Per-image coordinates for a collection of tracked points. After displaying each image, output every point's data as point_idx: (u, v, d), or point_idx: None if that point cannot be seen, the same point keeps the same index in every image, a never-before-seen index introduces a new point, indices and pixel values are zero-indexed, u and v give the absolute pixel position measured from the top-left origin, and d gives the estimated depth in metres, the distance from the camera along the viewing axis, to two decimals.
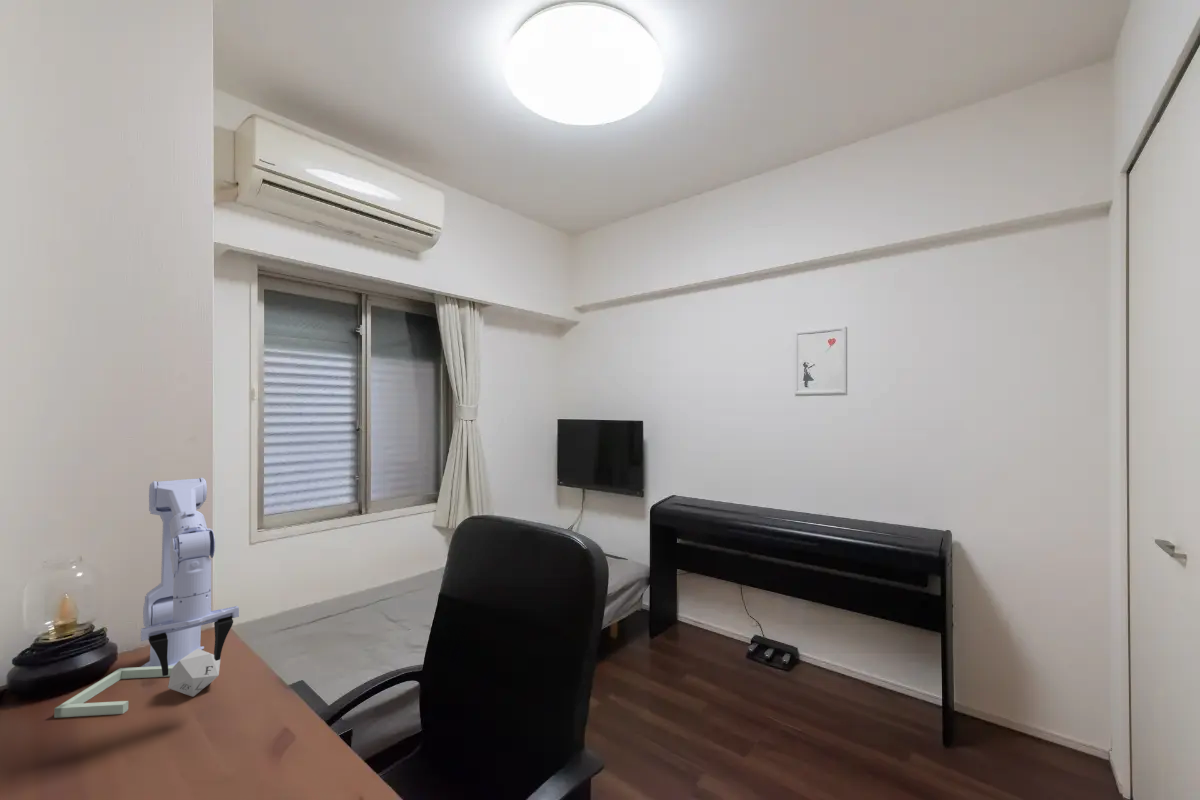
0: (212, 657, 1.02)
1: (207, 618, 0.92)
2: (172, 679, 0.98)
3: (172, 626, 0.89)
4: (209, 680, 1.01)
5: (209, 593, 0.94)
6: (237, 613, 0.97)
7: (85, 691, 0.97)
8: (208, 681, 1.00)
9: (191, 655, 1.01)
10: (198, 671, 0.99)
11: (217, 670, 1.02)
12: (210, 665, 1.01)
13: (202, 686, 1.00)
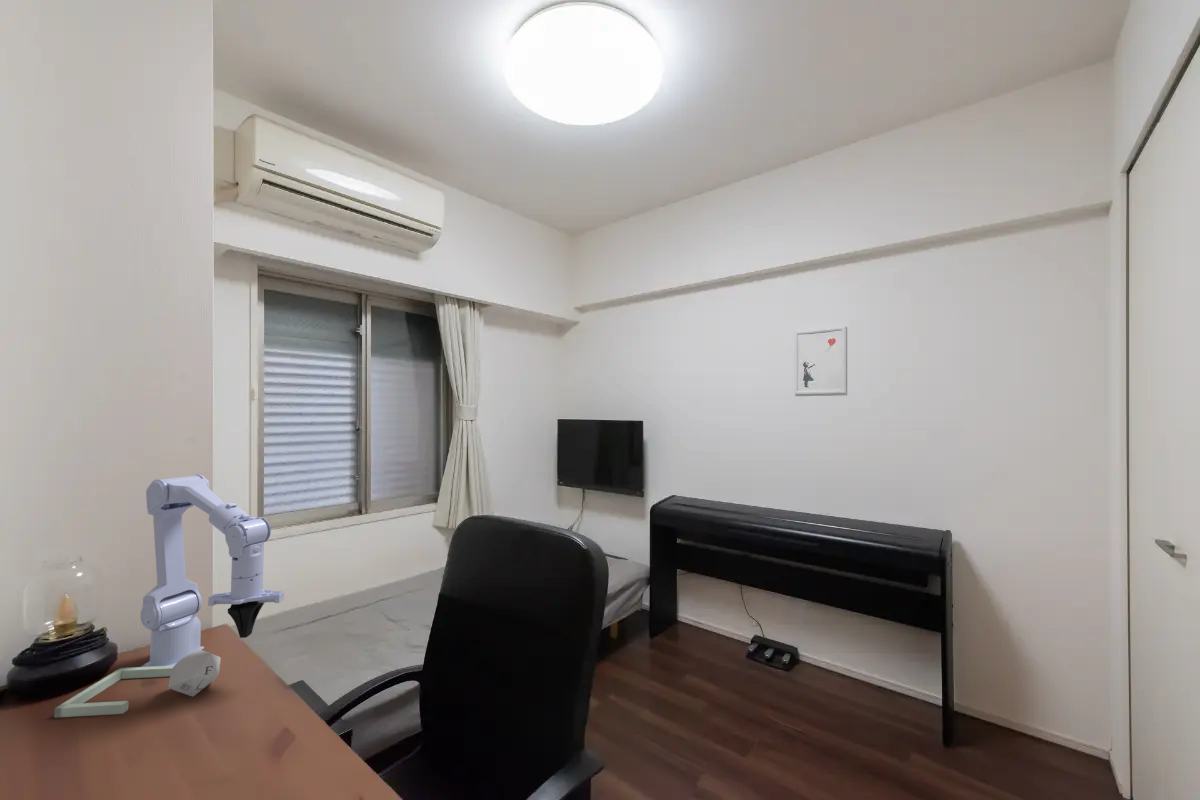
0: (212, 657, 1.02)
1: (249, 600, 1.03)
2: (172, 679, 0.98)
3: (225, 600, 1.03)
4: (209, 680, 1.01)
5: (255, 577, 1.04)
6: (277, 600, 1.05)
7: (85, 691, 0.97)
8: (208, 681, 1.00)
9: (191, 654, 1.01)
10: (198, 671, 0.99)
11: (217, 670, 1.02)
12: (210, 665, 1.01)
13: (202, 686, 1.00)
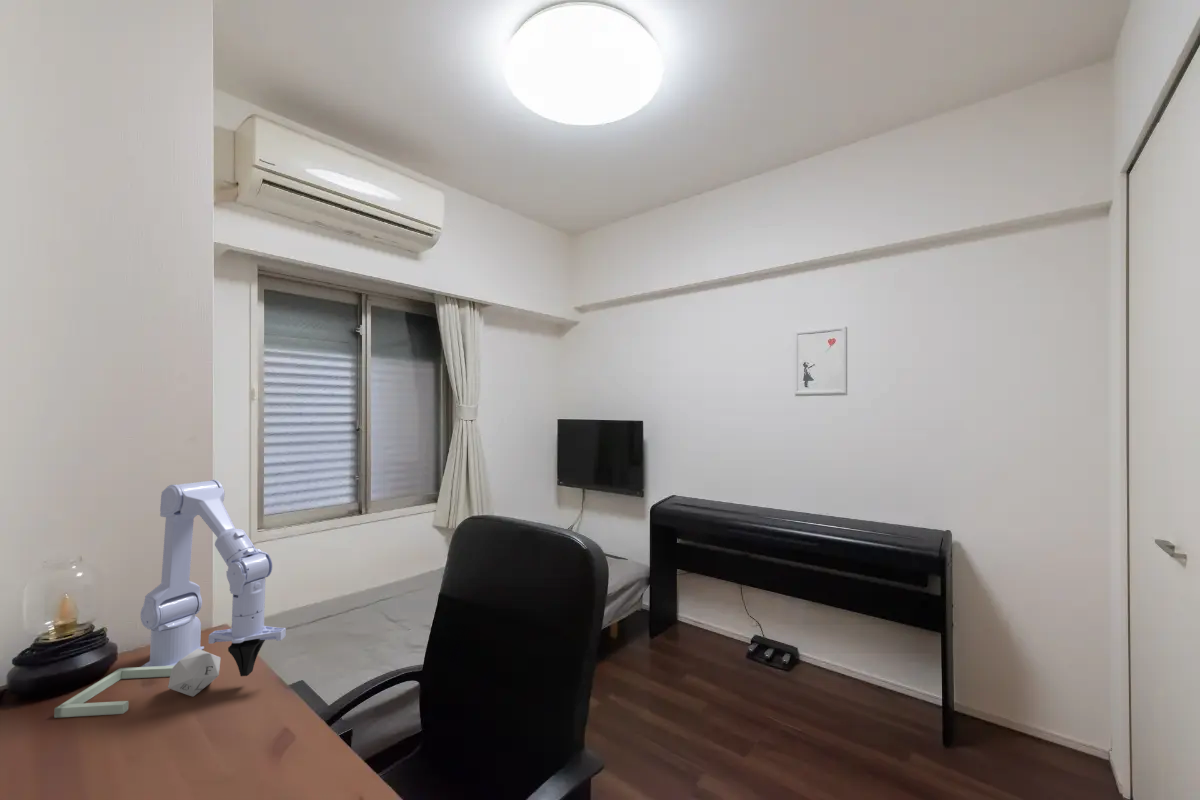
0: (212, 657, 1.02)
1: (250, 638, 1.01)
2: (172, 679, 0.98)
3: (226, 638, 1.00)
4: (209, 680, 1.01)
5: (256, 615, 1.02)
6: (279, 637, 1.03)
7: (85, 691, 0.97)
8: (208, 681, 1.00)
9: (191, 655, 1.01)
10: (198, 671, 0.99)
11: (217, 670, 1.02)
12: (210, 665, 1.01)
13: (202, 686, 1.00)
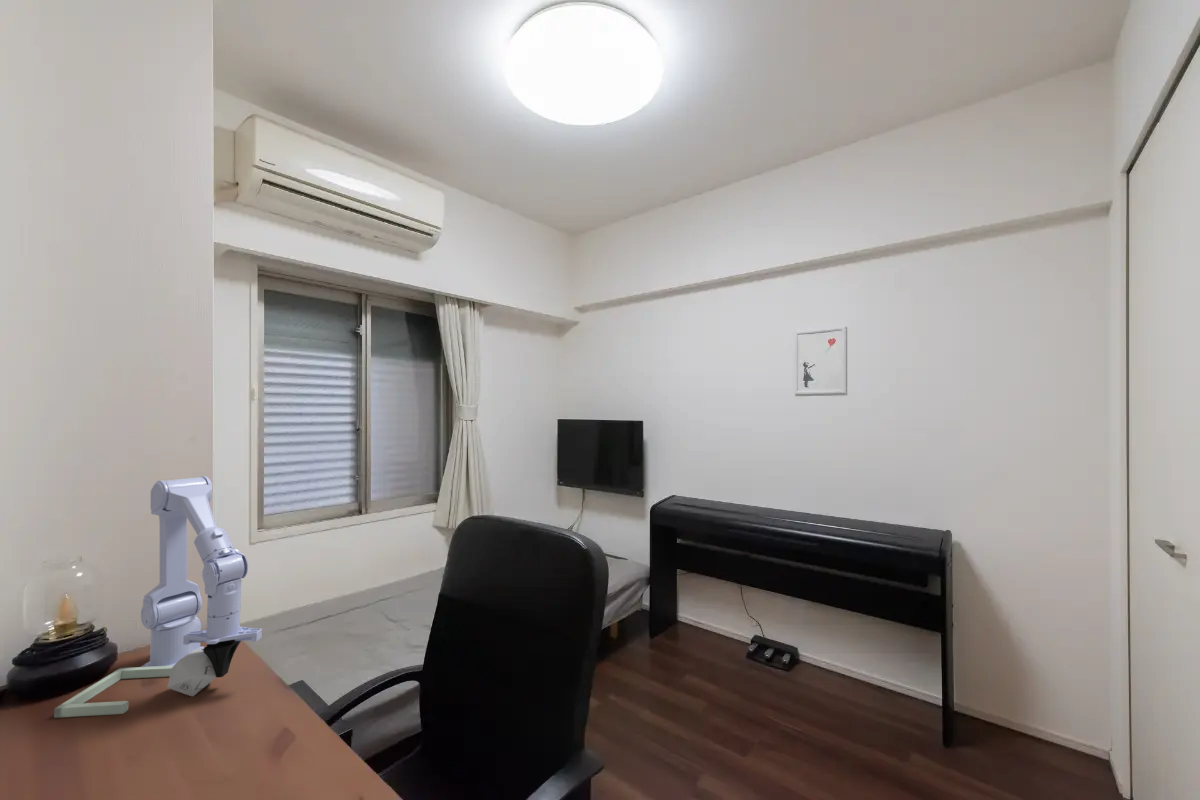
0: None
1: (225, 639, 1.00)
2: (171, 679, 0.98)
3: (200, 639, 1.00)
4: (208, 680, 1.01)
5: (232, 615, 1.01)
6: (255, 638, 1.02)
7: (85, 691, 0.97)
8: (207, 681, 1.00)
9: (191, 654, 1.01)
10: (197, 671, 0.99)
11: None
12: (209, 665, 1.01)
13: (201, 686, 1.00)
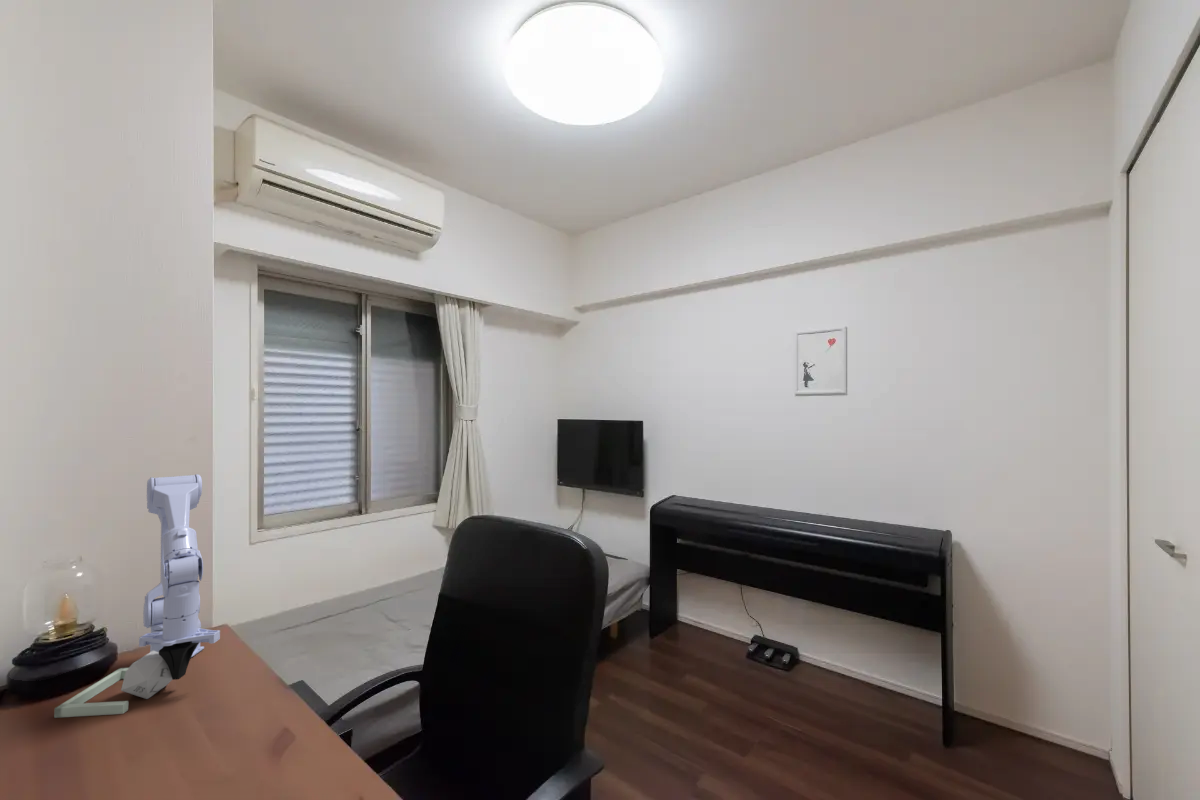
0: None
1: (181, 641, 0.99)
2: (125, 681, 0.96)
3: (156, 641, 0.99)
4: (164, 682, 1.00)
5: (188, 617, 1.00)
6: (212, 640, 1.01)
7: (85, 691, 0.97)
8: (163, 683, 0.99)
9: (146, 657, 1.00)
10: (152, 673, 0.98)
11: None
12: (166, 667, 1.00)
13: (157, 688, 0.99)
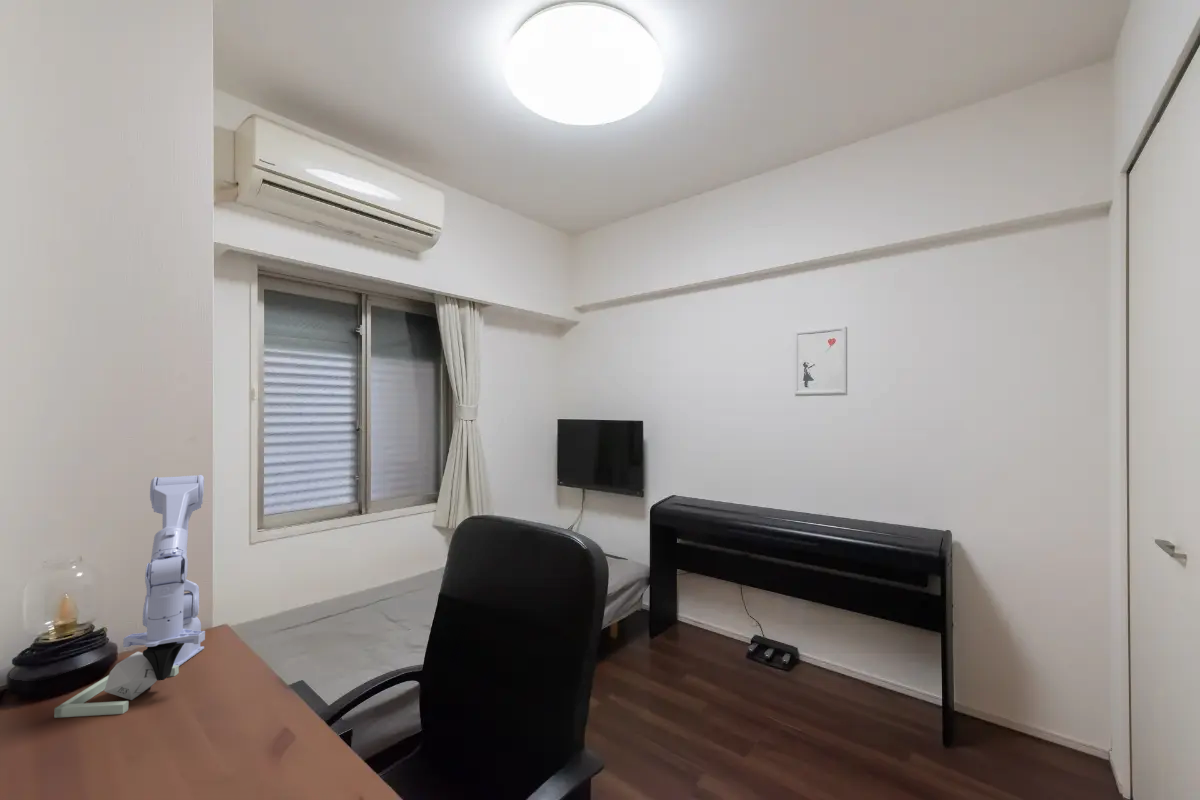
0: None
1: (166, 642, 0.99)
2: (109, 683, 0.96)
3: (140, 642, 0.98)
4: (149, 683, 0.99)
5: (173, 617, 1.00)
6: (197, 640, 1.01)
7: (85, 691, 0.97)
8: (148, 684, 0.99)
9: (130, 657, 0.99)
10: (136, 674, 0.97)
11: None
12: (150, 668, 1.00)
13: (141, 689, 0.98)
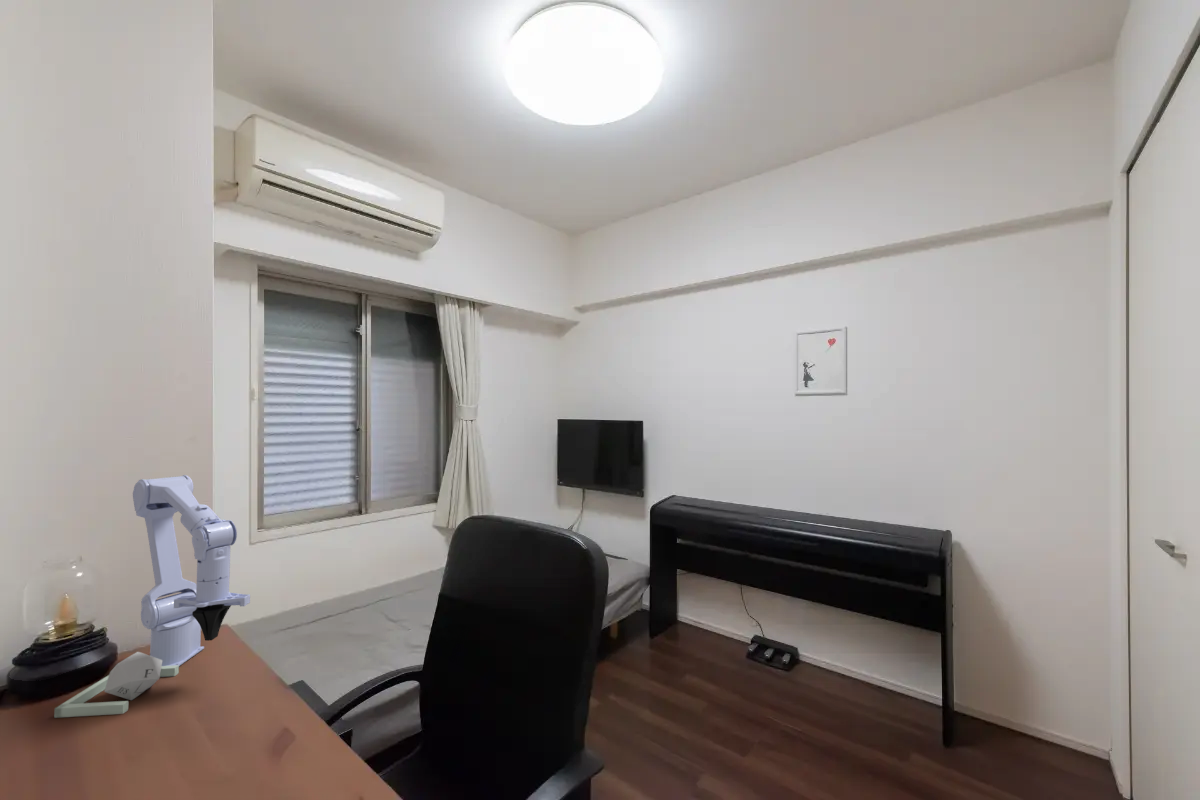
0: (152, 660, 1.01)
1: (214, 603, 1.03)
2: (109, 683, 0.96)
3: (190, 603, 1.03)
4: (149, 683, 0.99)
5: (220, 580, 1.04)
6: (243, 603, 1.05)
7: (85, 691, 0.97)
8: (148, 684, 0.99)
9: (130, 658, 0.99)
10: (136, 674, 0.97)
11: (158, 673, 1.01)
12: (150, 668, 1.00)
13: (141, 689, 0.98)
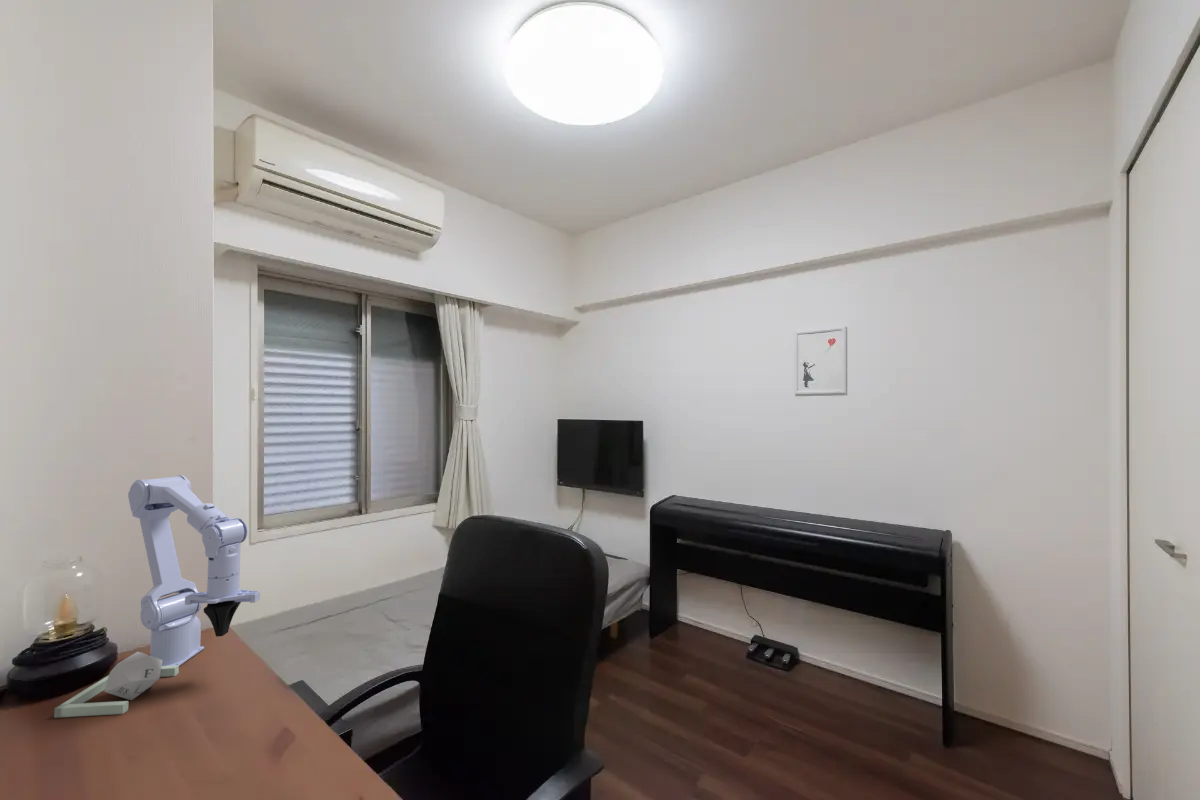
0: (152, 660, 1.01)
1: (225, 599, 1.05)
2: (109, 683, 0.96)
3: (201, 599, 1.04)
4: (149, 683, 0.99)
5: (231, 577, 1.06)
6: (253, 599, 1.07)
7: (85, 691, 0.97)
8: (148, 684, 0.99)
9: (130, 658, 0.99)
10: (136, 674, 0.97)
11: (158, 673, 1.01)
12: (150, 668, 1.00)
13: (141, 689, 0.98)
